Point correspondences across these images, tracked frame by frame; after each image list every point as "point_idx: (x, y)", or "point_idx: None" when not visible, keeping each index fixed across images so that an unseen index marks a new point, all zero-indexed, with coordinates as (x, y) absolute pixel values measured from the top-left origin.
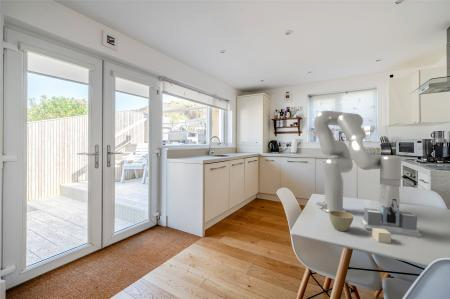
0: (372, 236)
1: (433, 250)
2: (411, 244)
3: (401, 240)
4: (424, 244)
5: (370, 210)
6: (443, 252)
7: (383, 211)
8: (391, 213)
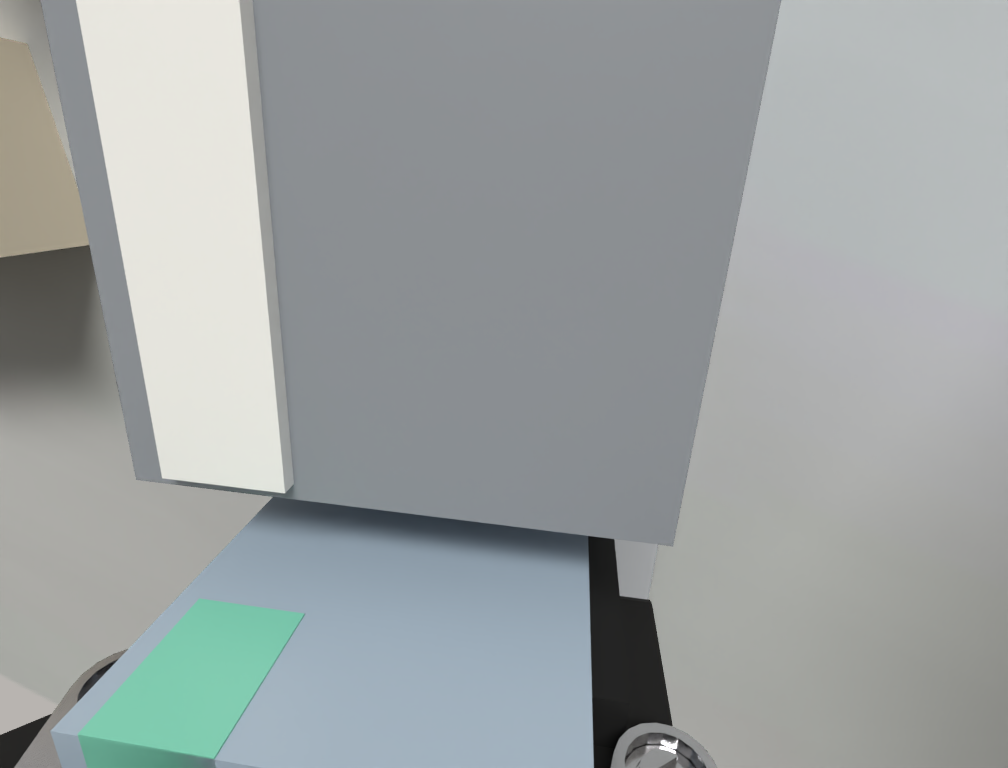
0: (18, 43)
1: (21, 625)
2: (57, 500)
3: (123, 447)
4: (137, 630)
5: (371, 184)
6: (26, 679)
7: (171, 610)
8: (19, 732)
